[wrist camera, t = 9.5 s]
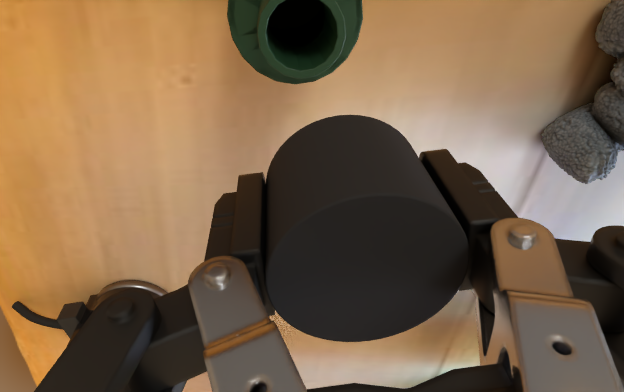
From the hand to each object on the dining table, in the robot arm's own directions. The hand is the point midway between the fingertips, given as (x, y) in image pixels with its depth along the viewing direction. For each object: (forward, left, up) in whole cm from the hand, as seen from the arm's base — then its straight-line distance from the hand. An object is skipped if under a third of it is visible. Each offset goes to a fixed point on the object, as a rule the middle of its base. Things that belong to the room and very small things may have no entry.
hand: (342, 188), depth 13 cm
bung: (0, 0, -2) cm, 2 cm away
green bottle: (0, +3, -26) cm, 26 cm away
